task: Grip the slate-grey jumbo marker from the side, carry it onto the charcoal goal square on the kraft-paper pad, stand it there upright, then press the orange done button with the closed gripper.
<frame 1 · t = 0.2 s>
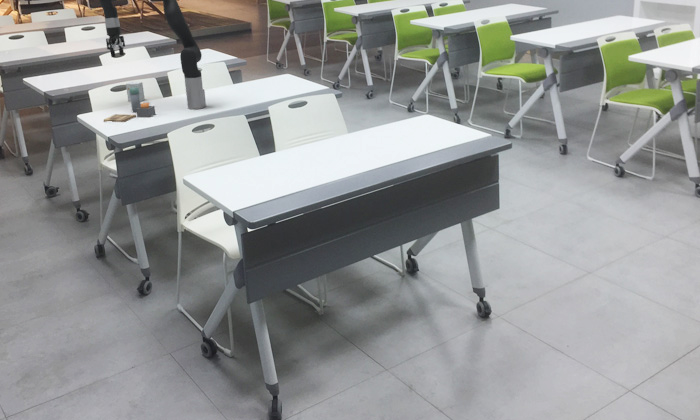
hand: (117, 56, 407), 28 cm above the table, tool pointing down, fingers open, 8 cm apart
done button: (145, 106, 391), point 5 cm above the table, slide at 0.0 cm
marker: (137, 111, 403), on the table
button housing: (146, 115, 393), on the table
kraft pad: (120, 118, 387), on the table
small box: (136, 100, 431), on the table
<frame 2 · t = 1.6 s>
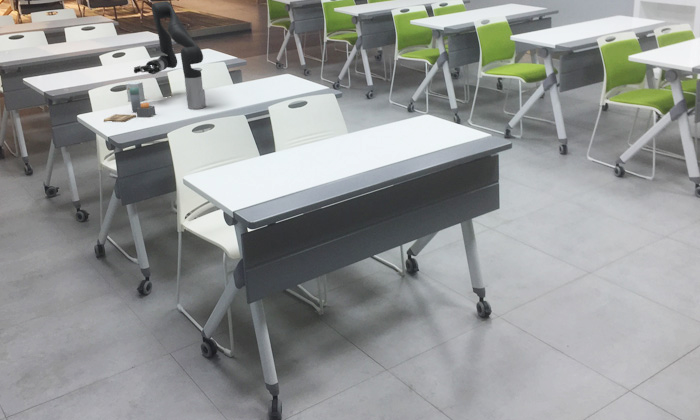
hand: (141, 71, 406), 20 cm above the table, tool horizontal, fingers open, 8 cm apart
nothing on the table moved.
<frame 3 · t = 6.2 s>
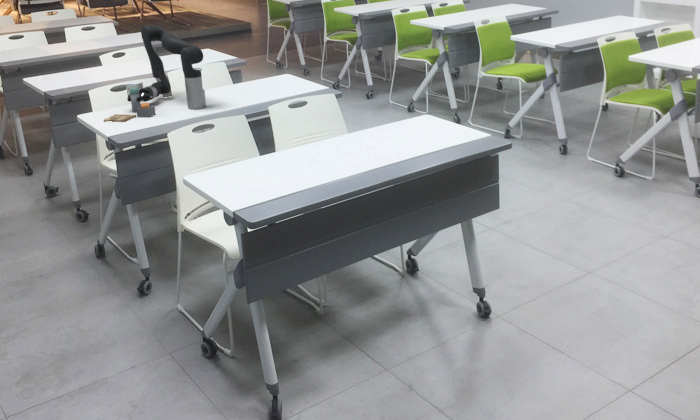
hand: (132, 99, 398), 7 cm above the table, tool horizontal, fingers closed on marker, 4 cm apart
marker: (137, 111, 403), on the table, touching gripper
everything else where it was.
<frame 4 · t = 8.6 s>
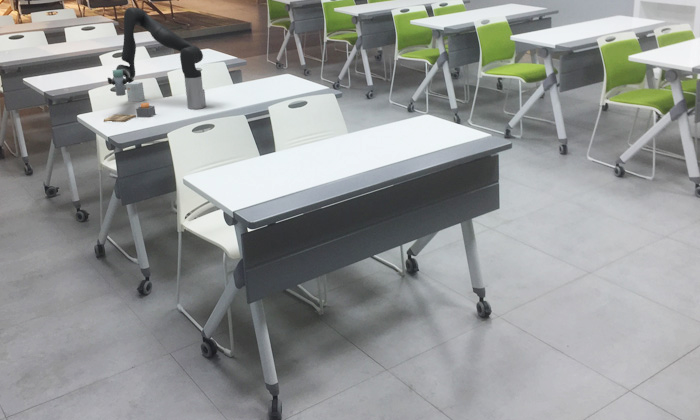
hand: (118, 82, 385), 18 cm above the table, tool horizontal, fingers closed on marker, 4 cm apart
marker: (120, 94, 390), point 11 cm above the table, touching gripper
everything else where it was.
when the fingers open (9 cm above the table, at t = 11.5 s): marker stays where it is, resting on kraft pad.
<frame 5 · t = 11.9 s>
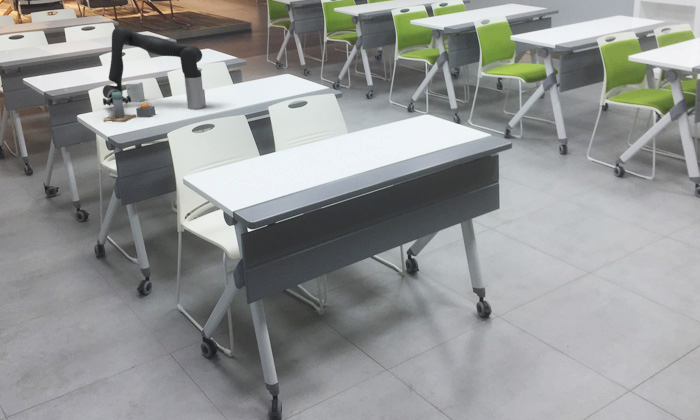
hand: (118, 102, 382), 9 cm above the table, tool horizontal, fingers open, 8 cm apart
marker: (119, 117, 387), point 1 cm above the table, touching kraft pad
everything else where it was.
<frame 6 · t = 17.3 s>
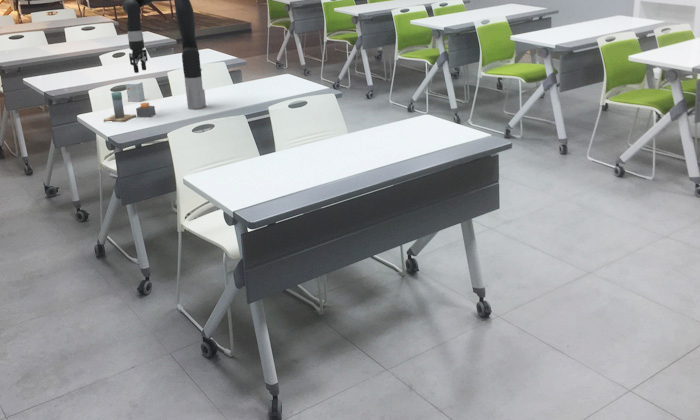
hand: (140, 71, 384), 24 cm above the table, tool pointing down, fingers open, 7 cm apart
nothing on the table moved.
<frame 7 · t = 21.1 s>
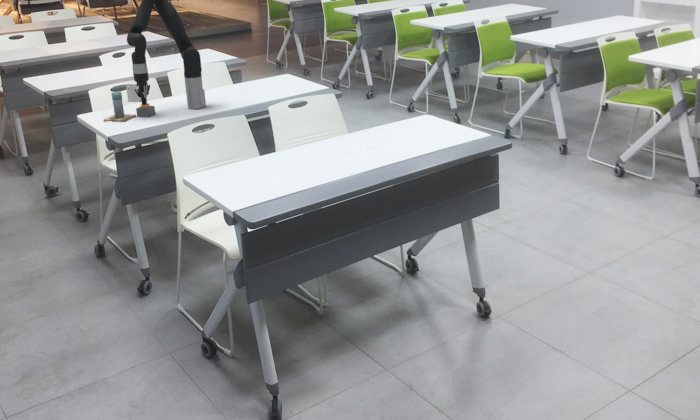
hand: (144, 104, 391), 6 cm above the table, tool pointing down, fingers closed
done button: (145, 107, 391), point 5 cm above the table, slide at 0.4 cm, touching gripper
everything else where it was.
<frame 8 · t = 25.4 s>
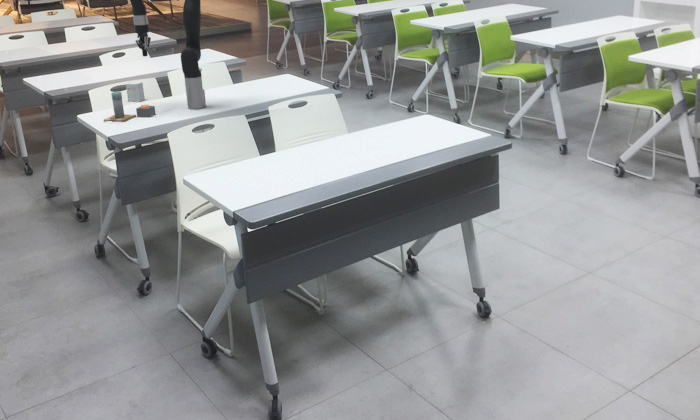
hand: (145, 56, 399), 29 cm above the table, tool pointing down, fingers closed
done button: (145, 108, 391), point 4 cm above the table, slide at 1.1 cm
everything else where it was.
at the end: marker inside the target area on the kraft pad (0.1 cm from its centre), point 1.0 cm above the kraft pad's base; marker tilted 0°; done button slide at 1.1 cm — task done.
